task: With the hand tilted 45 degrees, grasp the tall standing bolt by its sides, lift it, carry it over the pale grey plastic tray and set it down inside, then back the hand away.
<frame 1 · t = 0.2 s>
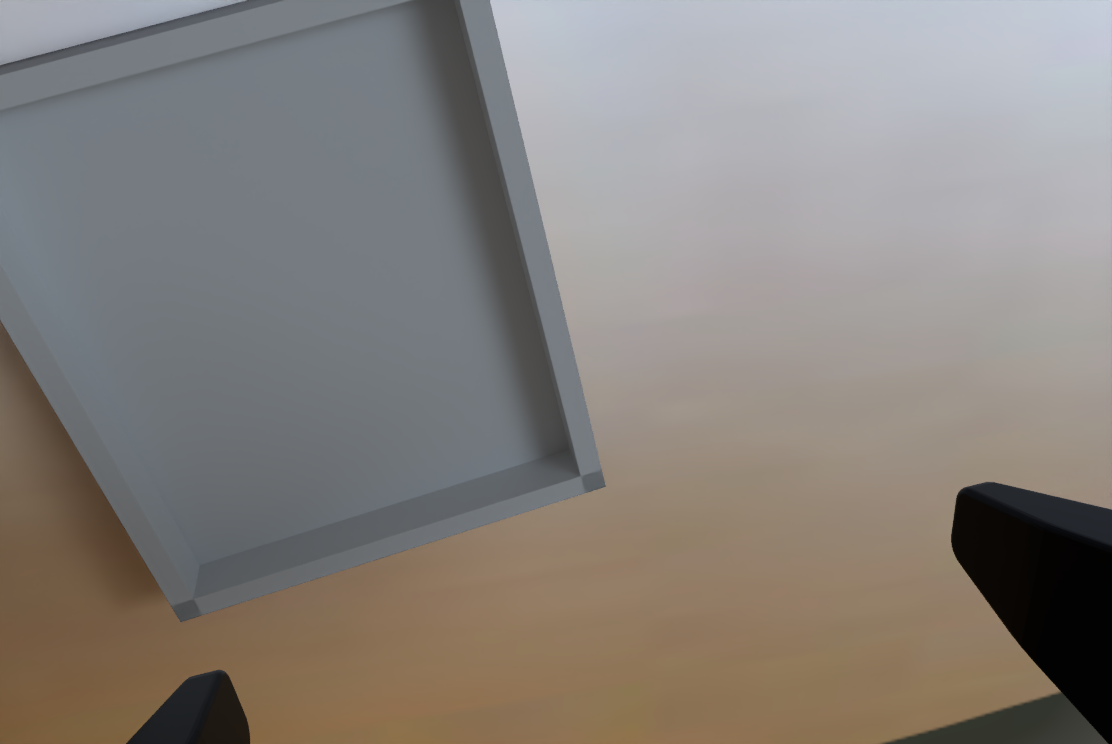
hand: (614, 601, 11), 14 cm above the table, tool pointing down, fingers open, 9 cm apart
tray: (309, 299, 23), on the table
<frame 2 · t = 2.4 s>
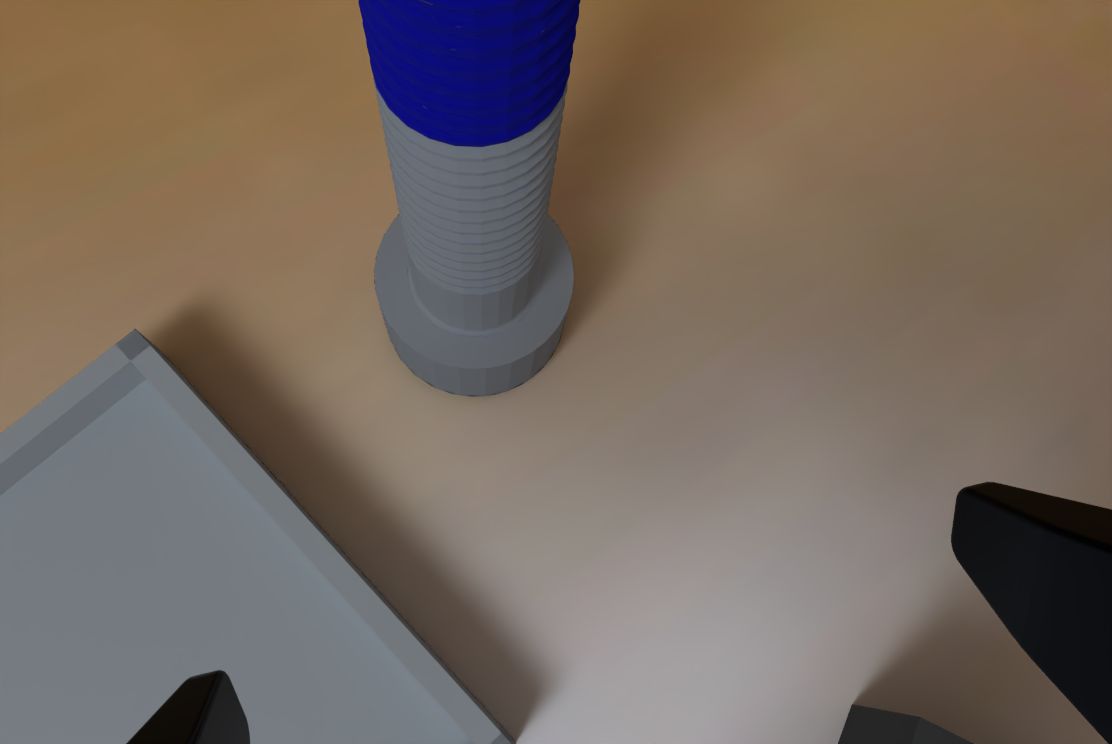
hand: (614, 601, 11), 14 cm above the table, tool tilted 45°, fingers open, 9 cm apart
tray: (142, 710, 23), on the table
bolt: (475, 317, 26), on the table
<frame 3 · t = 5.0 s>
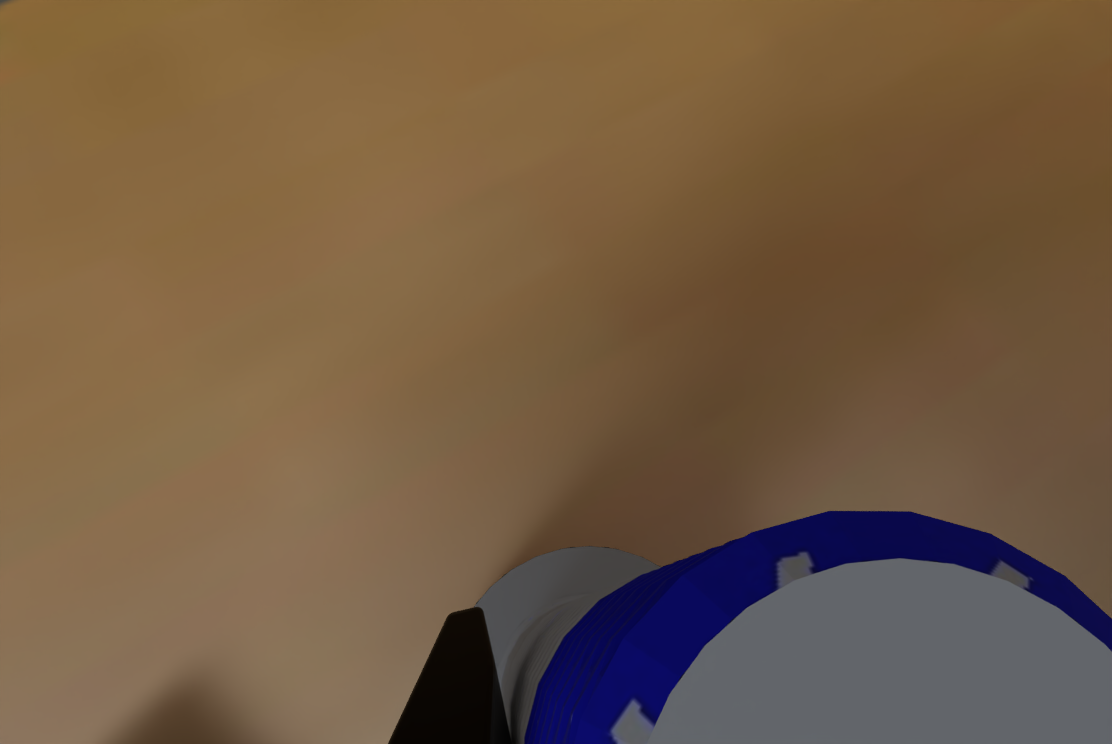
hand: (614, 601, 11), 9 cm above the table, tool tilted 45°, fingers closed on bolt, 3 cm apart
bolt: (572, 683, 19), on the table, touching gripper
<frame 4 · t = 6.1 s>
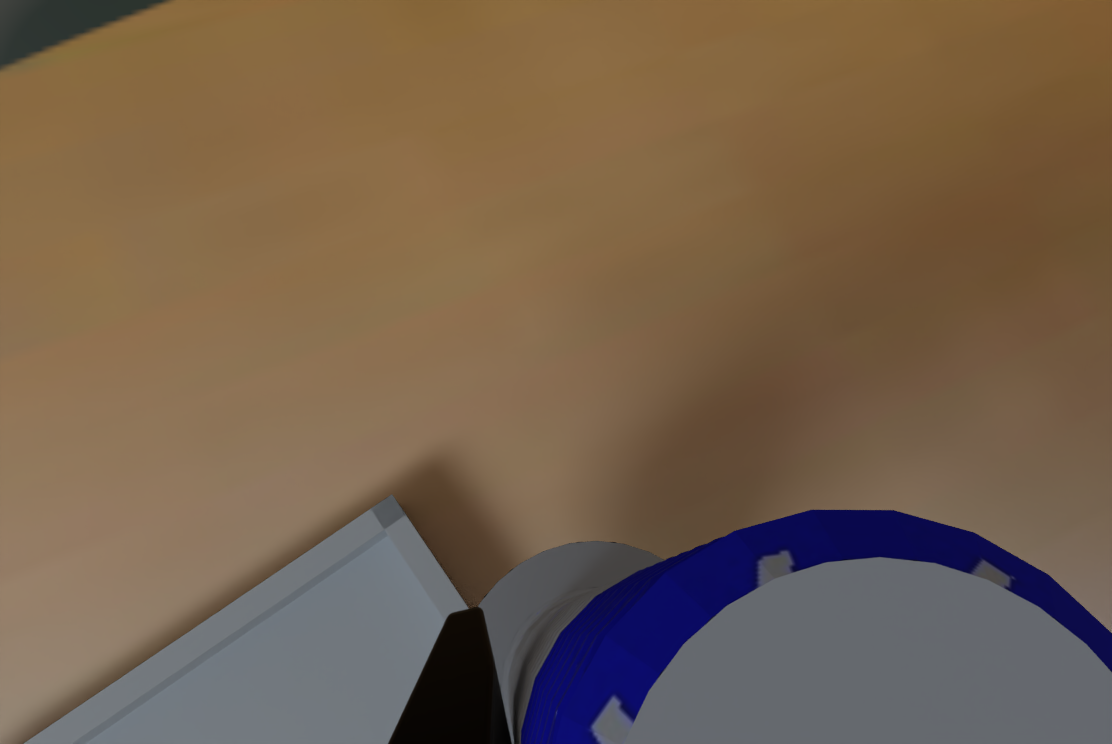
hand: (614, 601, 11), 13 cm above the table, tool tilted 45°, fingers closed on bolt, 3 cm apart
bolt: (581, 677, 19), point 4 cm above the table, touching gripper
when the fingers open (10 cm above the table, at t = 7.3 s): bolt stays where it is, resting on tray.
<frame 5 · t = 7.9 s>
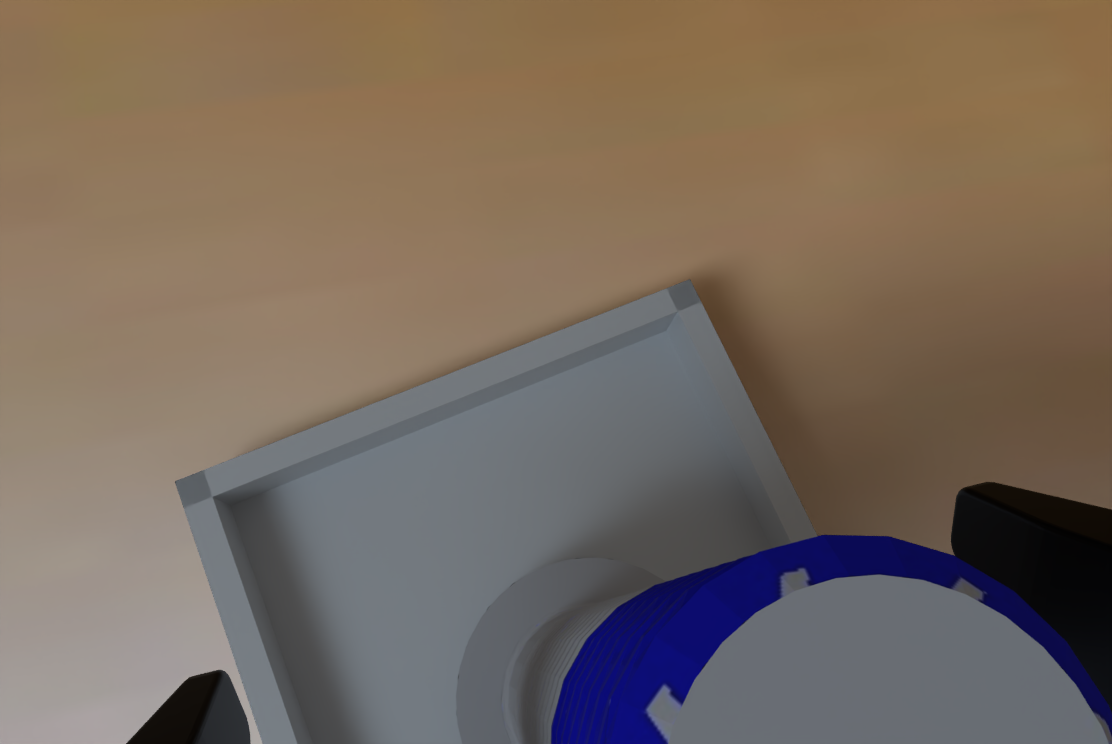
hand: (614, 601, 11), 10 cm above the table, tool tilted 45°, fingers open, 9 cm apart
tray: (566, 679, 20), on the table
bolt: (573, 687, 20), resting on tray
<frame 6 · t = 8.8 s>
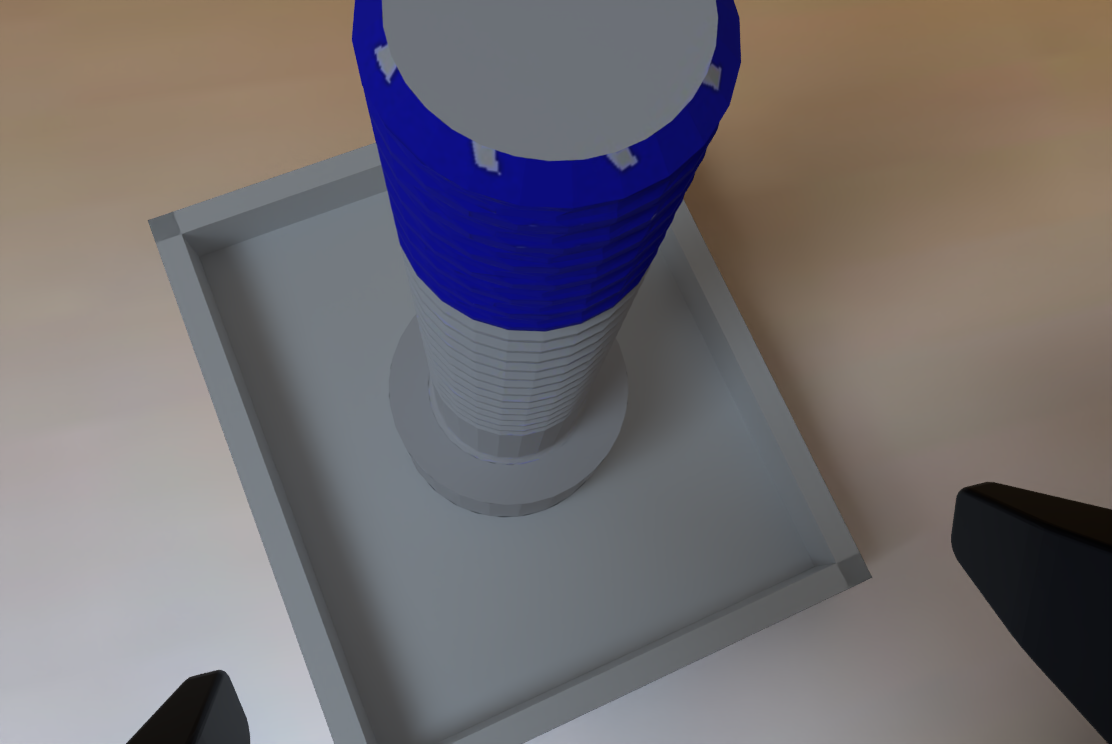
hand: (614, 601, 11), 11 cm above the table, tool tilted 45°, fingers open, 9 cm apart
tray: (501, 414, 23), on the table
bolt: (506, 416, 22), resting on tray
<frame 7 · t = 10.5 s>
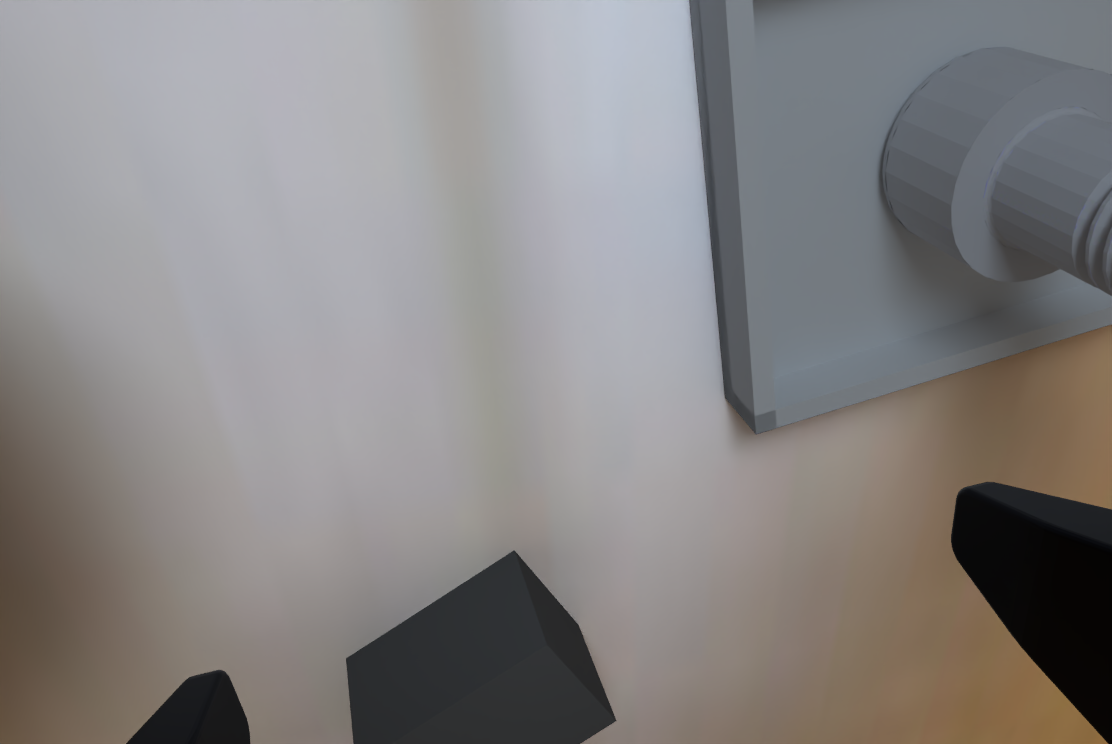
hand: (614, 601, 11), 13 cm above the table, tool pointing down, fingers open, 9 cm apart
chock: (465, 638, 28), on the table
tray: (954, 135, 24), on the table
bolt: (958, 143, 24), resting on tray
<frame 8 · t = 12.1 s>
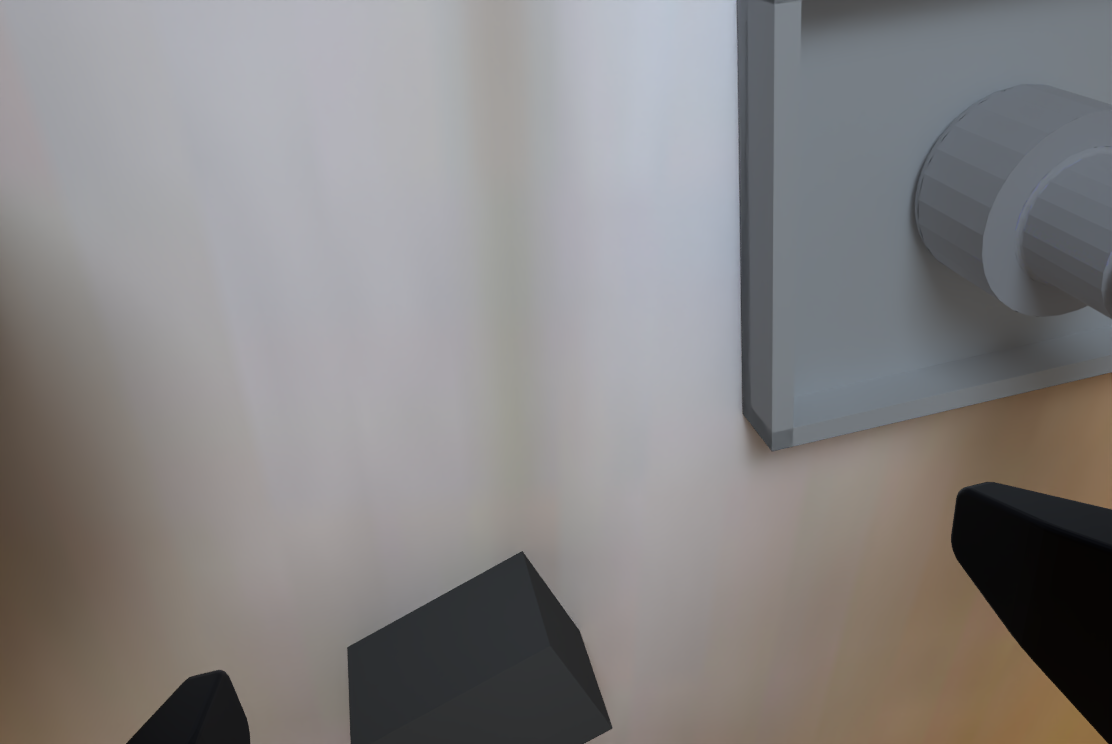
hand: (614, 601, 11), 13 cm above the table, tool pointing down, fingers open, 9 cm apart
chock: (466, 635, 28), on the table
tray: (987, 169, 24), on the table
bolt: (991, 176, 24), resting on tray
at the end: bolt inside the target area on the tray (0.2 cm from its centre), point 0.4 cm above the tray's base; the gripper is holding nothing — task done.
